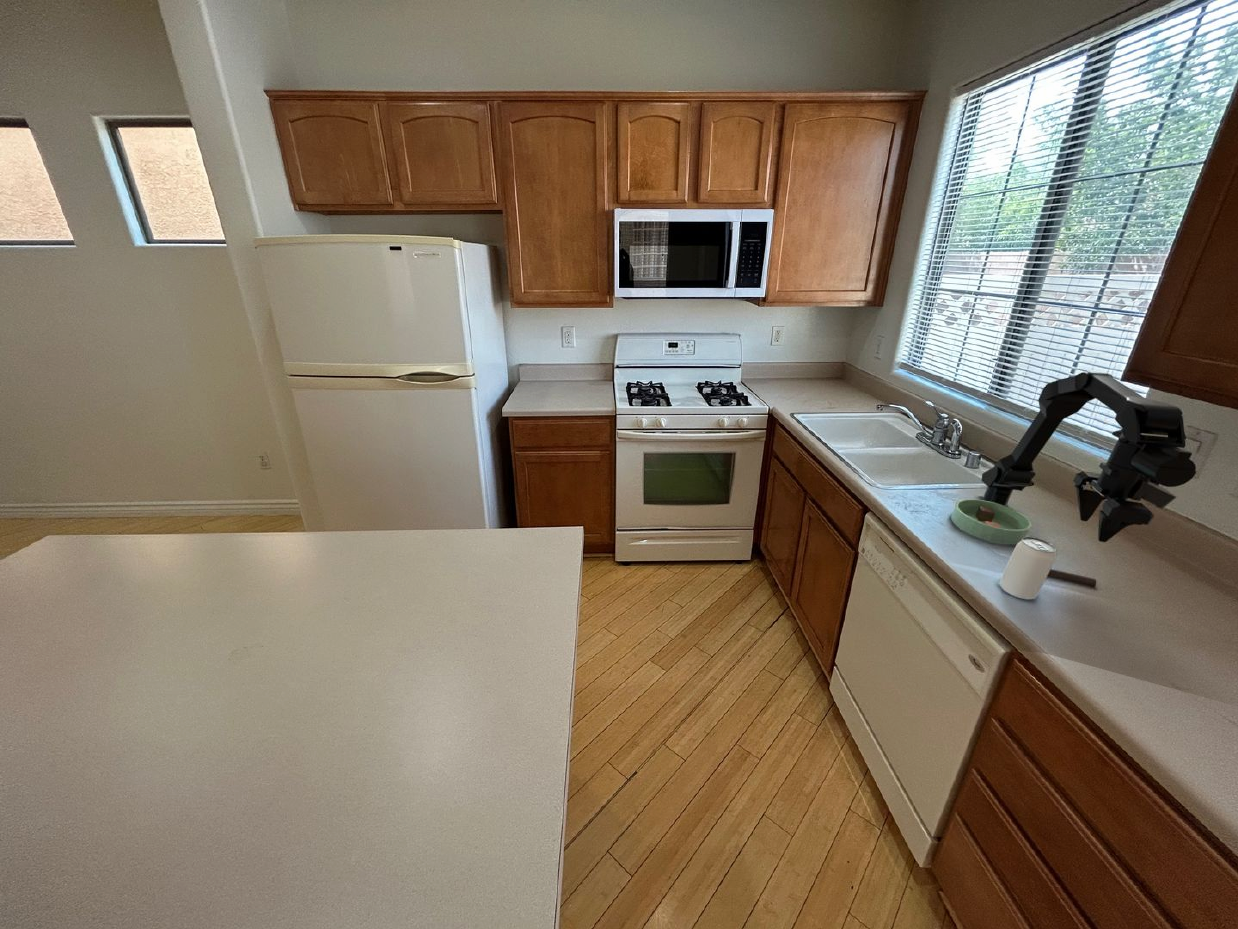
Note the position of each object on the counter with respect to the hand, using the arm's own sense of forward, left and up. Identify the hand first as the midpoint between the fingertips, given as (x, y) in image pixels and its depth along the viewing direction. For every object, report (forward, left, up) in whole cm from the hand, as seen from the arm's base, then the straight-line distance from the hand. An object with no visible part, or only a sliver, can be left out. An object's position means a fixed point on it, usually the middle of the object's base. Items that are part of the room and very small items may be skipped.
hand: (1092, 530), depth 102 cm
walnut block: (-21, -12, -12) cm, 27 cm away
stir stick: (+2, -8, -12) cm, 14 cm away
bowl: (-17, -12, -12) cm, 24 cm away
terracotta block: (-12, -13, -12) cm, 21 cm away
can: (+11, -12, -13) cm, 21 cm away
